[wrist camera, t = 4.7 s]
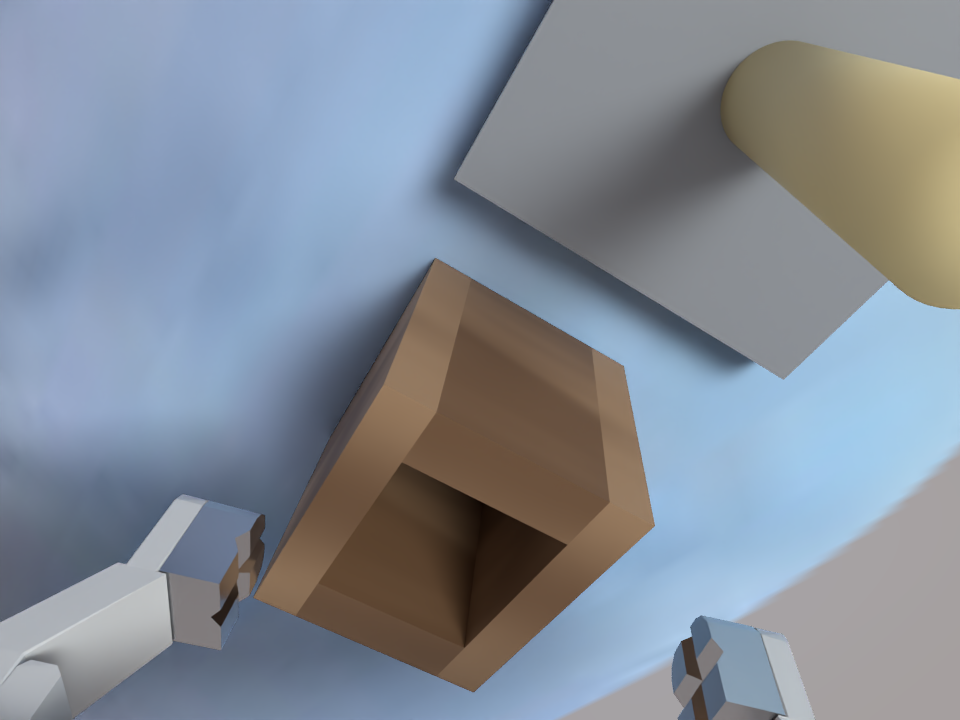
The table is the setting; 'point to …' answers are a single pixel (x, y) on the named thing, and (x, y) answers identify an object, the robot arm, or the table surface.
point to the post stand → (740, 156)
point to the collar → (465, 487)
